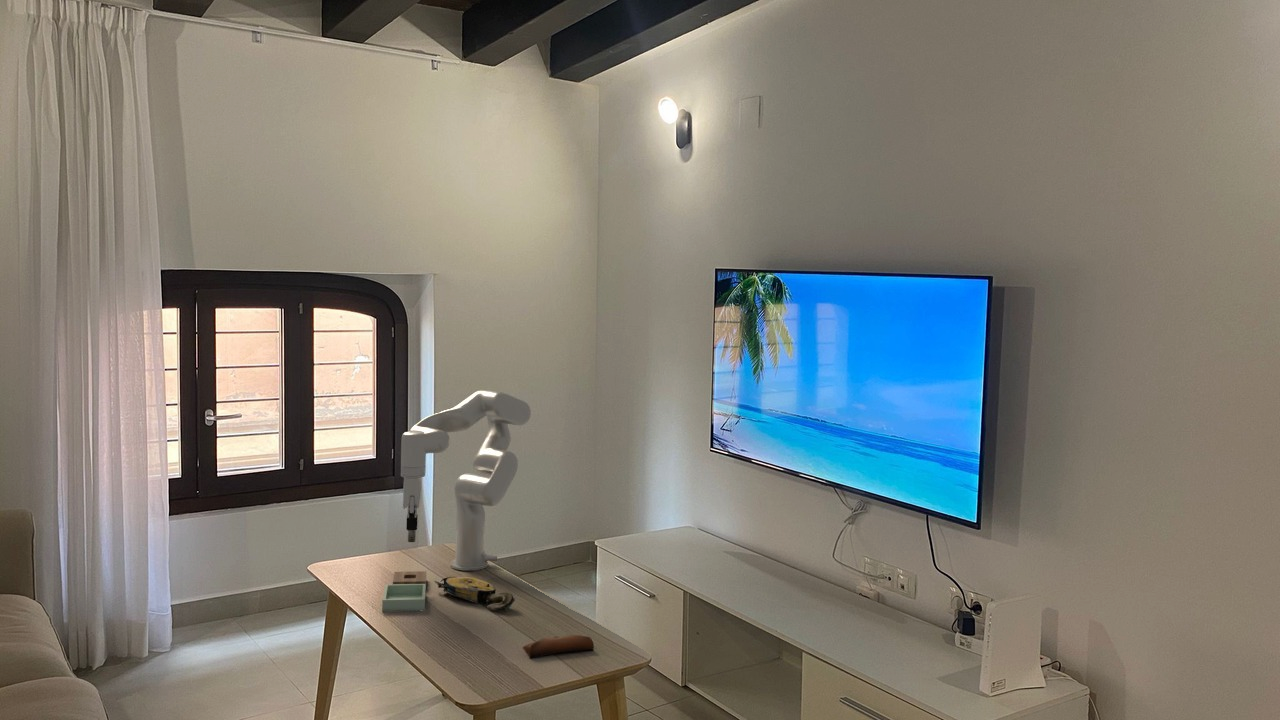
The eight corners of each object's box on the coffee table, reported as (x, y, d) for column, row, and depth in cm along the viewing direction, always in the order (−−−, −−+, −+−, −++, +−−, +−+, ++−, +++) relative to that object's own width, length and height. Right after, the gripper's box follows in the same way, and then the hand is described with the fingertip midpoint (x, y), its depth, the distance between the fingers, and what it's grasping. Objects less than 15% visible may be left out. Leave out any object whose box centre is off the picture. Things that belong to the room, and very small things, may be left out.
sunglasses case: (582, 639, 263) (588, 623, 260) (590, 660, 258) (595, 644, 254) (520, 647, 256) (524, 630, 252) (526, 668, 251) (531, 652, 247)
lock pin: (415, 540, 301) (416, 515, 300) (415, 542, 299) (415, 517, 298) (407, 540, 301) (408, 515, 300) (407, 542, 298) (408, 517, 297)
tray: (425, 594, 293) (425, 583, 293) (424, 610, 279) (424, 599, 279) (385, 595, 290) (385, 584, 290) (382, 611, 277) (382, 600, 276)
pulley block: (491, 596, 275) (433, 571, 296) (487, 616, 275) (430, 589, 296) (528, 594, 285) (470, 570, 307) (525, 614, 285) (467, 588, 306)
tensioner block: (426, 580, 307) (426, 571, 306) (425, 590, 297) (425, 581, 297) (394, 580, 304) (394, 571, 304) (392, 591, 295) (392, 581, 294)
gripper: (401, 465, 305) (400, 521, 306) (399, 476, 289) (398, 535, 291) (425, 465, 306) (424, 521, 308) (424, 476, 290) (423, 535, 292)
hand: (411, 528), depth 299 cm, fingers closed on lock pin, 2 cm apart
